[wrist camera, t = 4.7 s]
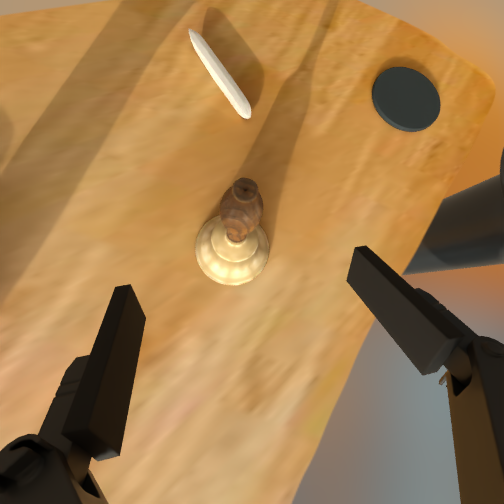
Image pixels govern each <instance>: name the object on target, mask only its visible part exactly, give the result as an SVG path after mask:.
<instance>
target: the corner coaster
mask: <svg viewBox="0 0 504 504" xmlns="http://www.w3.org/2000/svg"><path fill="white" fill-rule="evenodd" d="M372 99H373V103H374V106H375V108H376V110H377V112H378V113H379V115H380V116H381V117H382V118H383V119H384V120H385V121H386V122H387V123H388V124H390V125H391V126H393V127H395V128H397V129H400V130H403V131H408V132H416V131H420V130H423V129H425V128H427V127H429V126H430V125H431V124H432V123H433V122H434V121H435V120H436V119H437V117H438V115H439V112H440V98H439V95H438V92H437V90H436V88H435V87H434V85H433V84H432V83H431V82H430V80H429V79H428V78H426V77H425V76H424V75H423V74H421V73H419V72H418V71H416V70H413V69H410V68H406V67H393V68H390V69H387V70H385V71H384V72H383V73H381V74H380V75H379V77H378V78H377V79H376V81H375V83H374V85H373V89H372Z"/></svg>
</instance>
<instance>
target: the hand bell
mask: <svg viewBox="0 0 504 504" xmlns="http://www.w3.org/2000/svg"><path fill="white" fill-rule="evenodd" d="M262 213H263V201H262V198H261V195H260V193H259V191H258V187H257V184H256V183H255V182H254V181H253V180H251V179H248V178H240V179H238V180H237V181H235V183H234V184H233V186H232V187H230V188H229V189H228V190H227V191H226V192H225V194H224V195H223V197H222V200H221V203H220V215H218V216H216V217H214V218H212V219H211V220H209V221H208V222H207V223H206V224H205V225H204V226H203V227H202V229H201V230H200V232H199V234H198V236H197V239H196V244H195V254H196V258H197V261H198V264H199V266H200V267H201V269H202V270H203V272H204V273H205V274H206V275H207V276H208V277H209V278H211V279H212V280H214V281H216V282H218V283H221V284H225V285H240V284H244V283H246V282H249V281H251V280H252V279H254V278H255V277H256V276H258V275H259V274H260V272H261V271H262V270H263V268H264V267H265V265H266V263H267V260H268V255H269V243H268V239H267V236H266V234H265V232H264V230H263V229H262V227H261V226H260V225H259V222H260V220H261V217H262Z"/></svg>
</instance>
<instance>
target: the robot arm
mask: <svg viewBox="0 0 504 504" xmlns="http://www.w3.org/2000/svg"><path fill="white" fill-rule="evenodd" d="M346 281H347V282H348V283H349V285H350V286H351V287H352V288H353V290H354V291H355V292H356V293H357V295H358V296H359V297H360V298H361V299H362V301H363V302H364V303H365V304H366V306H367V307H368V308H369V309H370V311H371V312H372V313H373V314H374V316H375V317H376V318H377V319H378V321H379V322H380V323H381V324H382V326H383V327H384V328H385V329H386V331H387V332H388V333H389V334H390V336H391V337H392V338H393V339H394V341H395V342H396V343H397V344H398V345H399V347H400V348H401V349H402V350H403V352H404V353H405V354H406V355H407V357H408V358H409V359H410V360H411V362H412V363H413V364H414V365H415V367H416V368H417V369H418V370H419V372H420V373H421V374H422V375H426V374H431V373H434V372H437V371H438V370H439V369H440V367H441V366H442V365H444V366H445V367H446V368H447V369H448V370H447V372H446V373H445V374H444V375H443V377H442V378H441V379H440V381H439V384H440V385H442V384H443V383H444V382H445V381H447V385H446V387H447V389H448V398H449V405H450V415H451V423H452V432H453V440H454V448H455V457H456V465H457V473H458V482H459V491H460V499H461V504H504V344H502V343H500V342H499V341H497V340H495V339H492V338H489V337H484V336H478V335H477V334H475V333H474V332H473V331H472V330H471V329H470V328H469V327H468V326H466V325H465V324H464V323H463V322H462V321H461V320H459V319H458V318H457V317H456V316H455V315H454V314H453V313H451V312H450V311H449V310H447V309H446V308H445V307H444V306H443V305H442V304H440V303H439V301H437V300H436V299H435V298H434V297H433V296H432V295H431V294H429V293H427V292H425V291H423V290H422V289H420V288H417V289H414V288H413V287H411V286H410V285H409V284H408V283H407V282H406V281H405V280H404V279H403V278H402V277H400V276H399V275H398V274H397V273H396V272H395V271H394V270H393V269H392V268H390V267H389V266H388V265H387V264H386V263H385V262H384V261H383V260H382V259H381V258H379V257H378V256H377V255H376V254H375V253H374V252H373V251H372V250H371V249H369V248H368V247H367V246H360V247H355V249H354V253H353V257H352V261H351V265H350V269H349V272H348V276H347V280H346ZM145 321H146V317H145V315H144V313H143V310H142V308H141V306H140V304H139V302H138V299H137V297H136V295H135V293H134V291H133V288H132V286H131V284H129V285H123V286H117V287H115V289H114V292H113V295H112V297H111V300H110V303H109V305H108V308H107V311H106V313H105V316H104V319H103V321H102V324H101V327H100V329H99V332H98V335H97V337H96V340H95V343H94V345H93V348H92V351H91V353H90V355H87V356H82V357H77V358H76V359H75V360H74V361H73V362H72V364H71V365H70V366H69V367H68V368H67V370H66V372H65V374H64V376H63V378H62V381H61V383H60V386H59V388H58V390H57V392H56V394H55V395H56V397H55V398H54V399H53V401H52V404H51V406H50V408H49V410H48V413H47V415H46V417H45V420H44V422H43V424H42V426H41V429H40V431H39V433H38V435H36V434H27V435H24V436H21V437H18V438H17V439H15V440H14V441H12V442H11V443H9V444H8V445H6V446H5V447H4V448H3V449H2V450H1V451H0V504H108V502H107V500H106V498H105V496H104V495H103V493H102V491H101V489H100V487H99V485H98V484H97V482H96V480H95V478H94V476H93V474H92V473H91V471H90V470H89V469H88V468H89V464H90V461H91V457H93V458H94V459H95V460H97V461H101V460H105V459H109V458H113V457H116V456H120V452H121V447H122V441H123V436H124V431H125V426H126V420H127V415H128V410H129V405H130V399H131V394H132V389H133V384H134V378H135V373H136V368H137V363H138V357H139V352H140V347H141V342H142V336H143V331H144V326H145Z"/></svg>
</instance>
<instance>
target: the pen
mask: <svg viewBox="0 0 504 504" xmlns="http://www.w3.org/2000/svg"><path fill="white" fill-rule="evenodd" d="M189 35H190V38H191V41H192V44H193V46H194V49H195V50H196V52H197V54H198V55H199V57H200V59H201V60H202V62H203V64H204V65H205V67H206V68H207V70H208V71H209V73H210V74H211V76H212V77H213V79H214V80H215V82H216V83H217V85H218V86H219V87H220V89H221V90H222V91H223V93H224V94H225V96H226V97H227V98H228V100H229V101H230V102H231V104H232V105H233V107H234V108H235V109H236V111H237V112H238V113H239V115H240V116H242V117H243V118H246V119H248V118H250V117H251V107H250V104H249V102H248V101H247V99H246V97H245V96H244V94H243V93H242V91H241V90H240V89H239V87H238V86H237V84H236V83H235V82H234V80H233V79H232V77H231V76H230V75H229V73H228V72H227V70H226V69H225V68H224V66H223V65H222V63H221V62H220V61H219V59H218V58H217V57H216V55H215V54H214V52H213V51H212V50H211V48H210V47H209V46H208V44H207V43H206V42H205V40H204V39H203V38H202V36H201V35H199V34H198V33H197V32H196V31H194V30H191V29H189Z"/></svg>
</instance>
